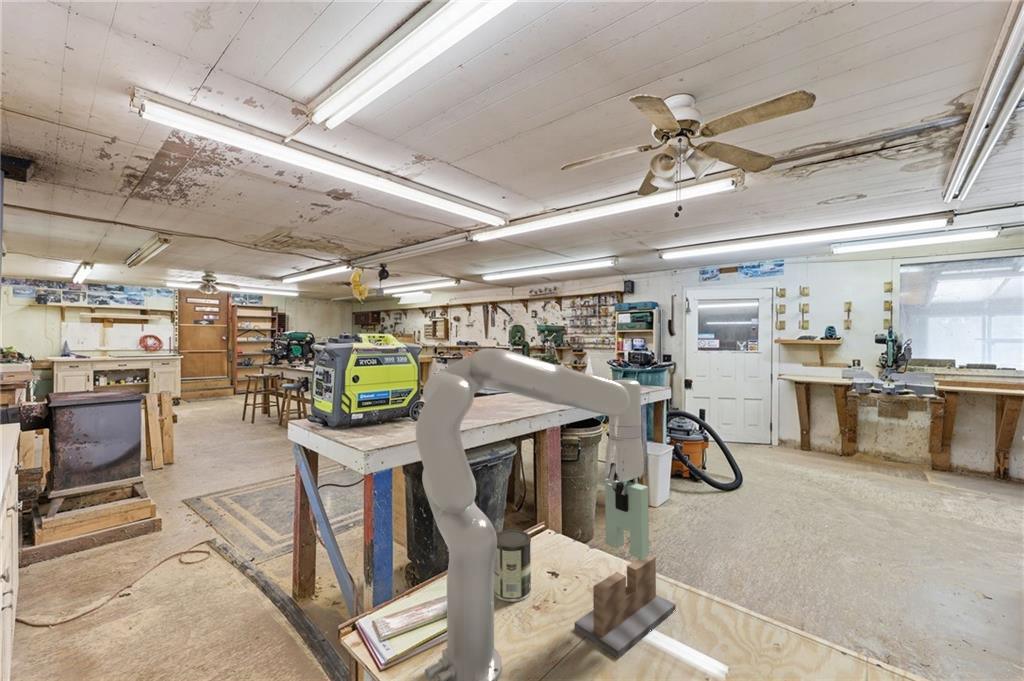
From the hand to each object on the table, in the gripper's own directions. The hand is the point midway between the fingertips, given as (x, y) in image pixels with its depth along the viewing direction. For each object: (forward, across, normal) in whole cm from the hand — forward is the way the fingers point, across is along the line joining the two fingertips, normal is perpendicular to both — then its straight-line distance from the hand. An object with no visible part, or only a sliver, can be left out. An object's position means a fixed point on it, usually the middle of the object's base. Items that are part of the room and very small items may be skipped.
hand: (626, 507), depth 100 cm
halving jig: (+27, 0, 0) cm, 27 cm away
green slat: (+10, 0, 0) cm, 10 cm away
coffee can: (+27, +13, -27) cm, 40 cm away
